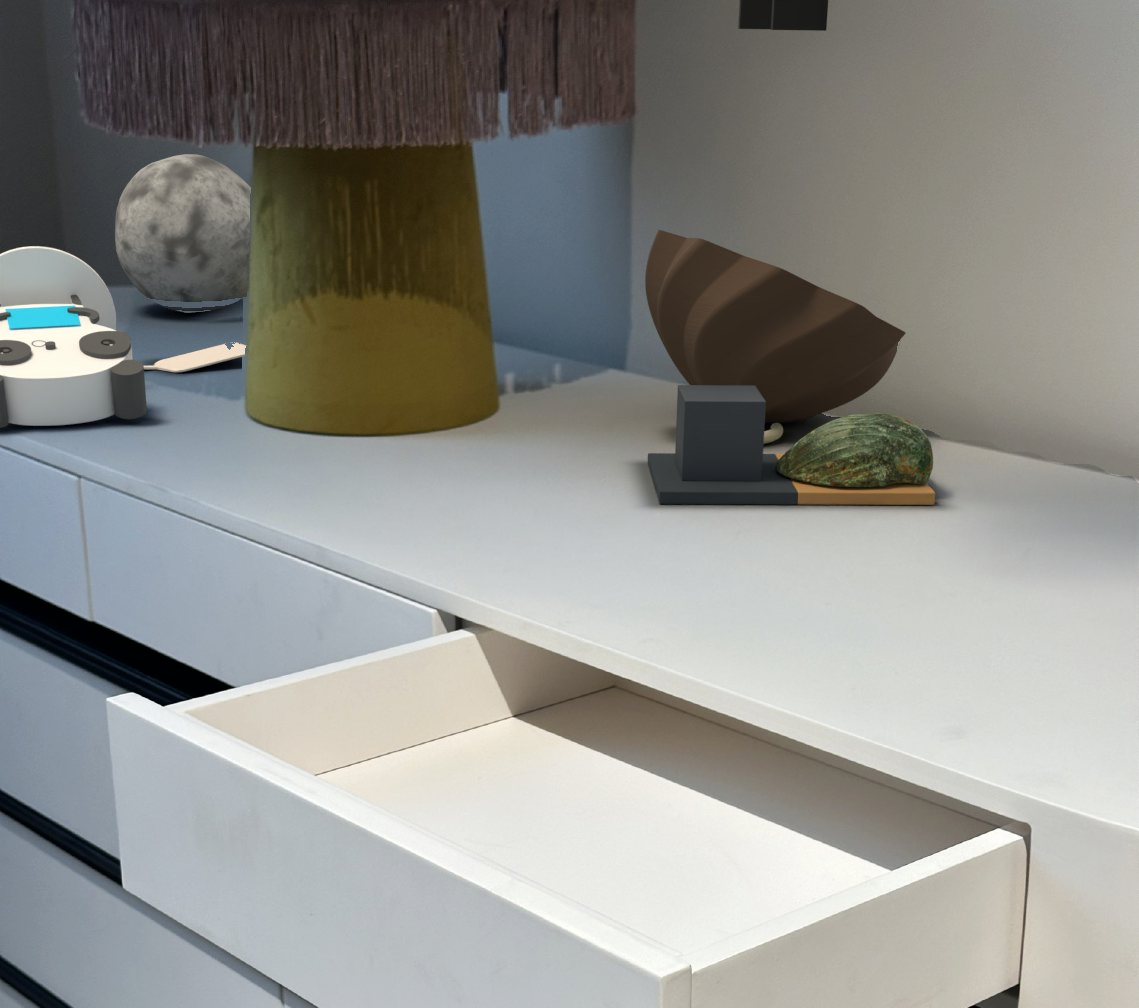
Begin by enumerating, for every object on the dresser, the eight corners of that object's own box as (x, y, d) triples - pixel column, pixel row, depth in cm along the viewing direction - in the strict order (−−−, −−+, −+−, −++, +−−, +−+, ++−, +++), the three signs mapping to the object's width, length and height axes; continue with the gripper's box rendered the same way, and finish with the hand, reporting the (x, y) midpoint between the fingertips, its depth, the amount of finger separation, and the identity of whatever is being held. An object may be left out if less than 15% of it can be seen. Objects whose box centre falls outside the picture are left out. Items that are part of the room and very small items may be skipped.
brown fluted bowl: (961, 357, 119) (901, 489, 121) (800, 314, 135) (750, 431, 137) (759, 251, 108) (697, 398, 110) (610, 217, 124) (559, 346, 126)
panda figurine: (118, 243, 128) (142, 323, 117) (129, 381, 135) (153, 469, 124) (-48, 248, 125) (-39, 331, 114) (-28, 390, 132) (-18, 481, 121)
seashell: (841, 383, 112) (971, 408, 106) (839, 443, 114) (967, 471, 108) (746, 417, 106) (878, 445, 100) (746, 480, 108) (875, 512, 101)
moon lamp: (175, 138, 153) (249, 120, 166) (51, 208, 160) (131, 187, 173) (252, 291, 157) (319, 263, 170) (128, 354, 164) (201, 322, 177)
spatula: (261, 367, 142) (259, 350, 142) (-105, 396, 128) (-107, 376, 128) (235, 358, 147) (234, 341, 147) (-119, 384, 133) (-122, 365, 133)
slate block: (674, 461, 110) (677, 384, 108) (751, 462, 110) (755, 385, 108) (681, 481, 105) (684, 400, 103) (761, 481, 105) (766, 401, 103)
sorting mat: (900, 465, 113) (901, 454, 112) (934, 505, 104) (935, 492, 103) (647, 464, 112) (647, 452, 112) (659, 504, 103) (659, 491, 103)
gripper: (703, -387, 94) (688, 27, 102) (764, -519, 71) (737, 29, 80) (837, -385, 94) (810, 29, 103) (940, -515, 71) (895, 31, 80)
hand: (779, 30), depth 91 cm, fingers open, 13 cm apart
